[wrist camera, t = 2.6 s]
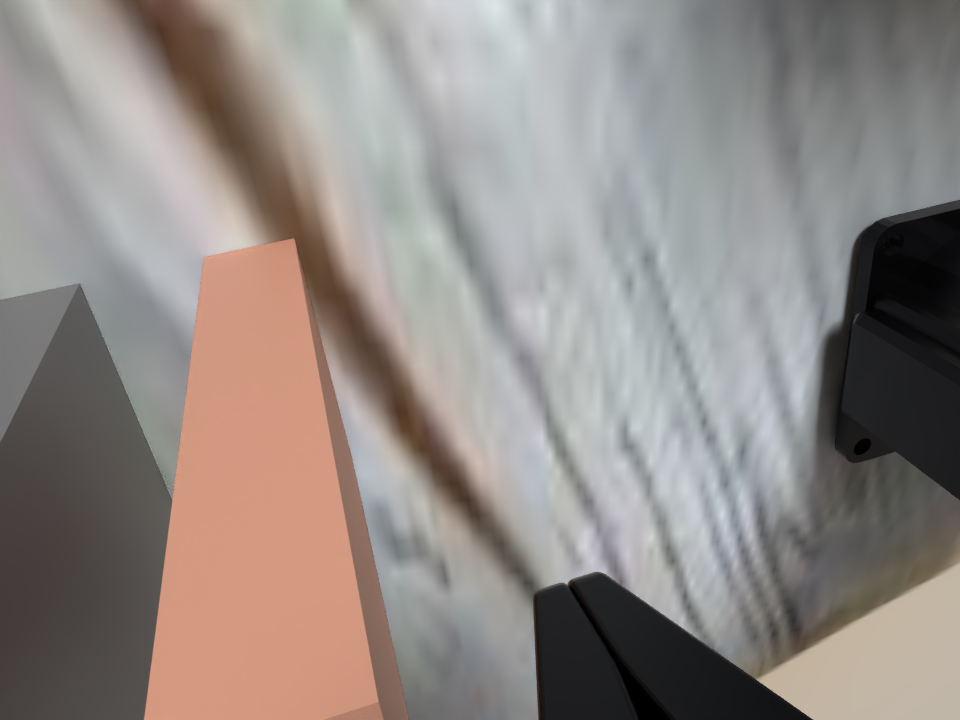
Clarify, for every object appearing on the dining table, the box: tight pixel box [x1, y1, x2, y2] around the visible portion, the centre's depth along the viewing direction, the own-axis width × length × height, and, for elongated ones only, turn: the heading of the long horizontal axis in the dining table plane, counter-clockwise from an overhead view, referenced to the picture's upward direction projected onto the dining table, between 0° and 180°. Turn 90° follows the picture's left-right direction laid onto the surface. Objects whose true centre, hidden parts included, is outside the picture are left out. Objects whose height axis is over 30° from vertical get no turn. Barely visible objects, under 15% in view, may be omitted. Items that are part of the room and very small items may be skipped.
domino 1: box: [0, 284, 172, 720], centre depth 10 cm, size 2×5×10 cm, turn 7°
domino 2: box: [144, 238, 409, 720], centre depth 11 cm, size 2×5×10 cm, turn 8°
